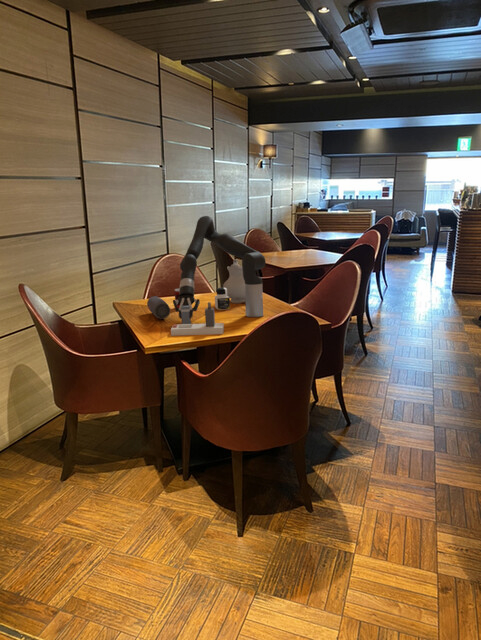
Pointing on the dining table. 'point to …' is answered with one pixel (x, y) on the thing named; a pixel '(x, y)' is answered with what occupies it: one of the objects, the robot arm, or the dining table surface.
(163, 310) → the bluetooth speaker
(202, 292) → the dining table surface
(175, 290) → the canned food
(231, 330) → the dining table surface
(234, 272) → the ceramic pitcher
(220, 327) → the strip
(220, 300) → the medicine bottle
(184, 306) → the plug
